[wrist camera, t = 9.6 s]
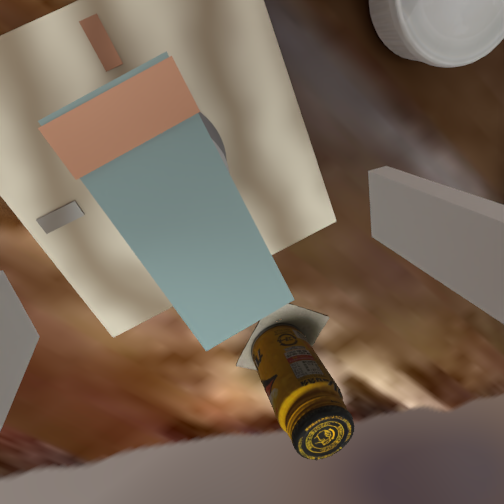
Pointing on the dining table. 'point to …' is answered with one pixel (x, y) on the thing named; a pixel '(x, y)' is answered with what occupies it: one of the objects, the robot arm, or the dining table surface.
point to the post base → (211, 112)
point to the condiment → (299, 381)
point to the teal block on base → (171, 197)
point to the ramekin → (439, 29)
